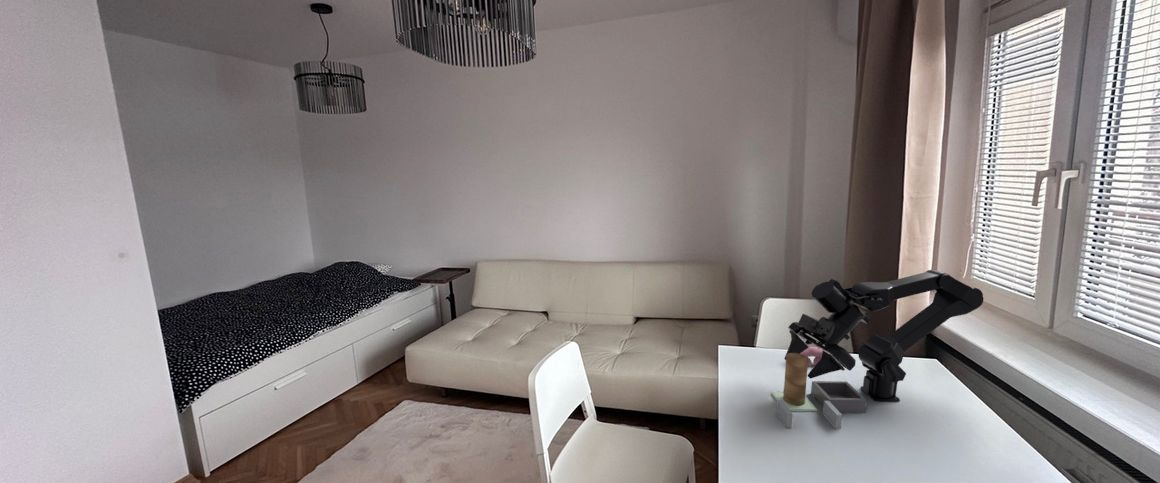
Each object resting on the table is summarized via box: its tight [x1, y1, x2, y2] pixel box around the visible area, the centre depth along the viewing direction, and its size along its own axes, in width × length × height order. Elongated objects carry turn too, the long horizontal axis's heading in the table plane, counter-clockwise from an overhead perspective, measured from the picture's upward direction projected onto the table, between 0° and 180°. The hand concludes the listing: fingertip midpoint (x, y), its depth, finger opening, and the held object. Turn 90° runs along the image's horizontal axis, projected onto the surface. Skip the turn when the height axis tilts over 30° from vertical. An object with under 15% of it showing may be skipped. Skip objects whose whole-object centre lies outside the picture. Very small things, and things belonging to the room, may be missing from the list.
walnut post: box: [783, 353, 809, 406], centre depth 112 cm, size 5×5×12 cm
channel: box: [776, 400, 843, 430], centre depth 105 cm, size 12×6×4 cm, turn 87°
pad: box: [771, 391, 818, 412], centre depth 113 cm, size 8×8×1 cm
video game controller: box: [800, 345, 829, 367], centre depth 131 cm, size 10×5×7 cm, turn 85°
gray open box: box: [810, 380, 868, 414], centre depth 112 cm, size 9×9×4 cm
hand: (796, 368), depth 111 cm, fingers open, 9 cm apart
